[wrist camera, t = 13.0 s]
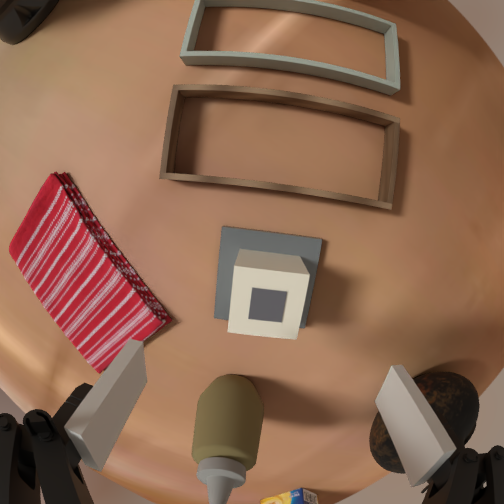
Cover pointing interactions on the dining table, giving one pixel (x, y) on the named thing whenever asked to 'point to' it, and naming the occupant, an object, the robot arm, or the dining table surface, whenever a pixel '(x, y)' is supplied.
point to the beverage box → (293, 498)
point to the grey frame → (302, 3)
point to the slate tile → (264, 242)
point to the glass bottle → (439, 398)
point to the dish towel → (83, 275)
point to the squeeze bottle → (227, 434)
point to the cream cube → (267, 294)
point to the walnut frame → (290, 99)
